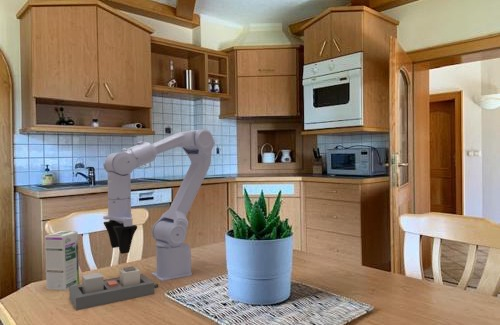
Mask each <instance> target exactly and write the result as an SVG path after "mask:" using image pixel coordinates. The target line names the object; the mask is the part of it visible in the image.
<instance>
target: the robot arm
mask: <svg viewBox="0 0 500 325" xmlns="http://www.w3.org/2000/svg"><path fill="white" fill-rule="evenodd" d="M214 147H215V140H214V138H213V134H212V133H211V131H210V130H209V129H206V128H201V129H194V130H193V129H192V130H184V131H180V132H176V133H174V134H171V135H169V136H168V137H165V138H162V139H159V140H158V141H156V142H153V143H151V142H148V141H143V140H140V141H138V142H136V145H134V146H131V147H128V148H126V147H124V148H121V149H120V150H121V151H120V152H113V153H110V154H109V155H107V157H105V159H104V162H103V166H102V167H103V169H104V171H105V172H106V173H107V215H104V216H103V217H102V218H103V219H104V220H108V221H104V222H103V226H104V228H105V229H106V232H107V233H108V238H109V242H110V246H111V248H112V249H114V248H118V250H119V254H129V253H130V250H131V246H132V242H133V238H134V235H135V233H136V231H137V229H138V225H136V224H133V223H134V222H133V214H132V190H131V189H132V188H131V187H132V186H131V185H132V184H131V174H132V172H134V170H136V169H137V168H140V167H142V166H145V165H146V164H150V163H152V162H154V161H155V160H156V157H157V155H160V154H161V153H164V152H167V151H170V150H172V149H176V148H181V149H183V151H184V153H185V154H186V155H187V157H188V158H189V161H190V166H189V167H188V170H187V171H186V174H185V176H184V178H183V179H182V182H181V184H180V186H179V188H178V190H177V193H176V194H175V196H174V198H173V201H172V203H171V205H170V207H169V209H167V210H166V211H165V212H164V213H162V214H161V216H160V218H158V220H157V221H156V222H154V224H153V226H152V229H151V234H152V235H151V236H152V237H153V239H154V240H155V245H156V246H155V247H156V248H155V251H156V253H155V254H156V255H155V256H156V261H155V262H156V271H153V272H151V275H153V277H155V278H156V279H158V280H159V281H161V282H164V281H168V280H174V279H179V278H184V277H188V276H193V273H192V251H191V247H190V245H189V244H188V243H187V242H184V241H185V240H186V239H187V230H188V227H189V225H190V224H189V221H188V218H187V216H188V214H189V211H190V209H191V208H192V205H193V203H194V201H195V199H196V196H197V194H198V193H199V190H200V188H201V186H202V184H203V182H204V179H205V178H206V176H207V173H208V170H209V168H210V166H211V163H212V152H213V148H214Z"/></svg>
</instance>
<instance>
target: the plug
mask: <svg viewBox="0 0 500 325" xmlns="http://www.w3.org/2000/svg"><path fill="white" fill-rule="evenodd" d="M118 271H119V273H118V274H119V278H120V285H121V286H122V287H123V286H129V285H134V284H139V283H140V274H141V270H140V269H138V267H136V266H129V267H128V266H127V267H123V268H120V269H119V270H118Z"/></svg>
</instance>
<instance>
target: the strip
mask: <svg viewBox="0 0 500 325" xmlns="http://www.w3.org/2000/svg"><path fill="white" fill-rule="evenodd" d="M115 278H116V279H112V278H110V279H111V280H106V279H104V275H103V274H102V273H101V272H93V273H87V274H82V276H81V283H82V284H77V285H75V286H72V287H69V289H68V291H69V293H68V294H69V295H68V296H69V298H68V299H69V300H70V302H71V304H72V305H73V308H74V309H75V311H78V310H80V311H81V310H84V309H89V308H94V307H99V306H103V305H107V304H108V305H109V304H113V303H117V302H123V301H126V300H127V301H128V300H132V299H136V298H141V297H145V296H150V295H155V289H156V288H159V283H156V284H155V282H154V281H153V280H152V279H150V278H149V277H147V276H146V275H145V274H144V273H140V283H139V284H134V285H129V286H123V287H122V286H121V285H120V278H118V277H115ZM103 280H105V281H103Z"/></svg>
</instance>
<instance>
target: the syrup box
mask: <svg viewBox="0 0 500 325" xmlns="http://www.w3.org/2000/svg"><path fill="white" fill-rule="evenodd" d="M78 235H79V234H78V231H75V230H59V231H57V232H53V233H50V234H46V235H45V236H44V245H45V246H44V251H45V256H44V257H45V275H46V277H45V279H46V290H50V291H51V290H55V291H68V290H69V287H72V286H77V285H80V269H79V268H80V265H79V236H78Z"/></svg>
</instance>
